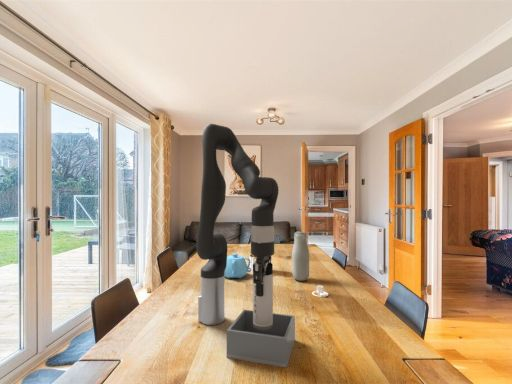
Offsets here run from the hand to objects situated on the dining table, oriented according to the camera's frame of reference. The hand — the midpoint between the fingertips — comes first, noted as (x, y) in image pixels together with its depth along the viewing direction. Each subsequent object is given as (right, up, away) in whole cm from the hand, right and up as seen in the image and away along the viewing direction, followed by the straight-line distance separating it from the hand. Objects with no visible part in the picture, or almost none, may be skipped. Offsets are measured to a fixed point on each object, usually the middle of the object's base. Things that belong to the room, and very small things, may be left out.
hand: (262, 292), depth 89 cm
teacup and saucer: (+27, -19, +47) cm, 58 cm away
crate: (0, -18, 0) cm, 18 cm away
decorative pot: (-15, -19, +80) cm, 84 cm away
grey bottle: (+23, -19, +72) cm, 78 cm away
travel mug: (0, -11, 0) cm, 11 cm away
